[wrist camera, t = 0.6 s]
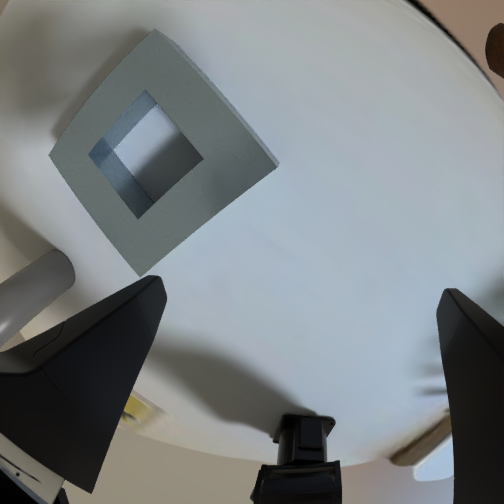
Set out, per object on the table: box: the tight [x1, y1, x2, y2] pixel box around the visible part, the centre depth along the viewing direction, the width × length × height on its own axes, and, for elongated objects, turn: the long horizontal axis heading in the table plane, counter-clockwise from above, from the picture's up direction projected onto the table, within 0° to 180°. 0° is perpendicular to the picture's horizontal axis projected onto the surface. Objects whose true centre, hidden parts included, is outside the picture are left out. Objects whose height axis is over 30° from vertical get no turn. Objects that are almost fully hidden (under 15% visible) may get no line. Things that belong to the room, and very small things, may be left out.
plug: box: [0, 250, 75, 348], centre depth 20 cm, size 4×4×15 cm
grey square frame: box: [49, 29, 279, 277], centre depth 20 cm, size 13×13×4 cm
